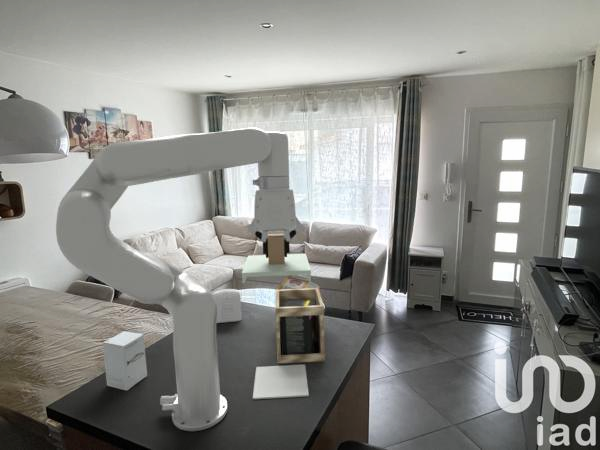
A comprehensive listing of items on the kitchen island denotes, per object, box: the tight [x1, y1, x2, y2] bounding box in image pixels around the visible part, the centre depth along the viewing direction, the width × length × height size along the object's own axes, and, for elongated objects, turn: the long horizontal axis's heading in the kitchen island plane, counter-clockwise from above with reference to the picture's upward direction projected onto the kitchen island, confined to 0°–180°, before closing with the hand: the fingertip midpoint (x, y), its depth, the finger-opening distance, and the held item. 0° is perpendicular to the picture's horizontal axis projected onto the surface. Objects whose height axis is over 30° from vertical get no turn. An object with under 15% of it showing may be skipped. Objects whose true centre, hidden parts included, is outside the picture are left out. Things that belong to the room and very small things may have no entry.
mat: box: [252, 364, 310, 400], centre depth 96 cm, size 14×14×1 cm
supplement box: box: [102, 331, 148, 391], centre depth 97 cm, size 7×7×13 cm
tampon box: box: [281, 299, 317, 355], centre depth 112 cm, size 11×9×15 cm
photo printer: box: [213, 288, 242, 324], centre depth 135 cm, size 10×4×12 cm, turn 102°
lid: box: [241, 233, 312, 284], centre depth 91 cm, size 16×17×10 cm
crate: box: [274, 288, 326, 364], centre depth 112 cm, size 14×16×17 cm
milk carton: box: [277, 275, 321, 293], centre depth 129 cm, size 10×11×19 cm
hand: (276, 255), depth 91 cm, fingers closed on lid, 4 cm apart
